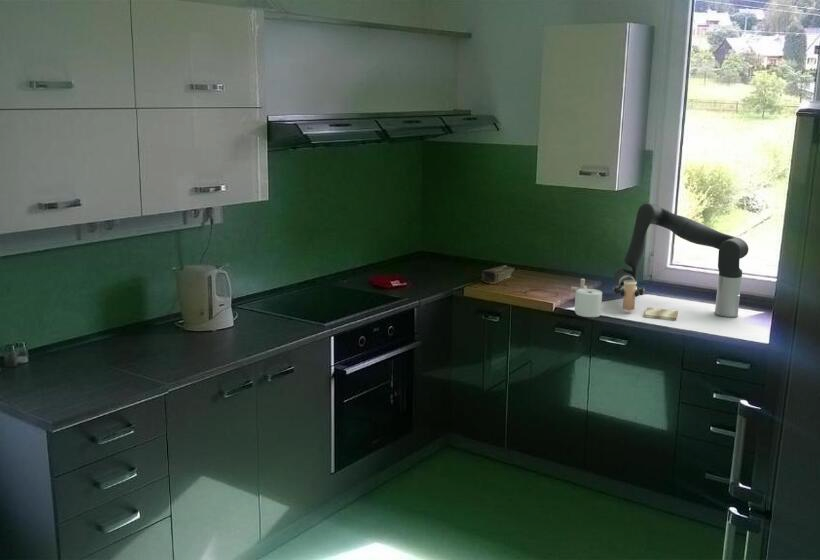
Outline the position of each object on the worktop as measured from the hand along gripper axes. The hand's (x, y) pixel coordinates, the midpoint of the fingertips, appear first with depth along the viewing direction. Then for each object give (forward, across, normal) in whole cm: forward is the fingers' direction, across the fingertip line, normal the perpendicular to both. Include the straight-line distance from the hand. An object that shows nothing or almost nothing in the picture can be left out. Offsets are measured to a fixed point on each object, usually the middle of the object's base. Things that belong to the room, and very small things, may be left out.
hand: (629, 294), depth 349 cm
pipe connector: (-18, -20, +9) cm, 29 cm away
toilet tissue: (+4, -18, +9) cm, 20 cm away
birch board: (-1, +14, +9) cm, 16 cm away
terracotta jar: (-3, 0, +7) cm, 7 cm away
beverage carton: (-48, -61, +8) cm, 78 cm away
